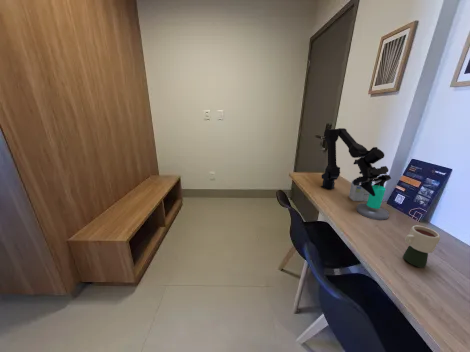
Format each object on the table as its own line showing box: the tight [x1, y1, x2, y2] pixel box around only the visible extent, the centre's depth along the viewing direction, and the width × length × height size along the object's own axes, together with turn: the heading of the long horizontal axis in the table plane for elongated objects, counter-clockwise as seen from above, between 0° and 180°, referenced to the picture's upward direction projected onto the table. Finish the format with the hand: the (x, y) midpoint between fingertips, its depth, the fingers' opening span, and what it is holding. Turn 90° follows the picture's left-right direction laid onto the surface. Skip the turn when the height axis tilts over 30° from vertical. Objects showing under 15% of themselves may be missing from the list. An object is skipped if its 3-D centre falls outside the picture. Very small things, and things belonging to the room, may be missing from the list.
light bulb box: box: [348, 180, 375, 203], centre depth 119 cm, size 11×7×11 cm, turn 84°
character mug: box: [402, 225, 441, 268], centre depth 70 cm, size 11×7×13 cm, turn 88°
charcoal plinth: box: [356, 202, 390, 221], centre depth 105 cm, size 14×14×2 cm
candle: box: [366, 184, 387, 209], centre depth 102 cm, size 6×6×12 cm
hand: (378, 195), depth 100 cm, fingers closed on candle, 5 cm apart
